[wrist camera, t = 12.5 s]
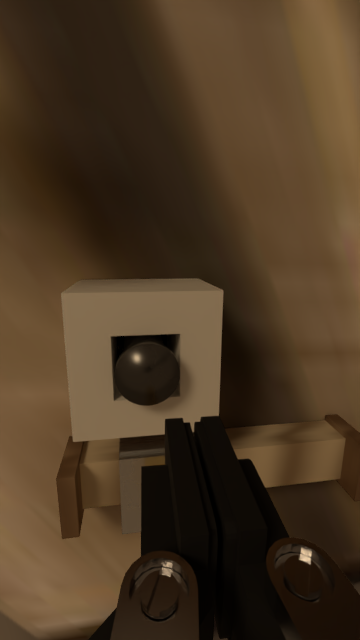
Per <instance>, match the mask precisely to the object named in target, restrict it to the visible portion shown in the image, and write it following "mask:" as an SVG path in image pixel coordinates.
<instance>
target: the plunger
mask: <svg viewBox="0 0 360 640" xmlns="http://www.w3.org/2000/svg"><path fill="white" fill-rule="evenodd" d="M179 380H180V368H179V365H178V362H177V359H176V357H175V355H174V354H173V352H172V351H171V350H170V349H169V348H168V347H167V346H165V345H164V344H163V341H162V338H161V335H160V334H159V335H132V336H125V337H124V351H123V352H122V353H121V355H120V356H119V358H118V360H117V363H116V368H115V383H116V386H117V389H118V390H119V392H120V393H121V395H122V396H123V397H124V398H125V399H127V400H128V401H130V402H132V403H134V404H137V405H143V406H150V405H155V404H158V403H161V402H163V401H165V400H166V399H167V398H169V397H170V396H171V395H172V394H173V393H174V391H175V390H176V388H177V386H178V383H179Z"/></svg>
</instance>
